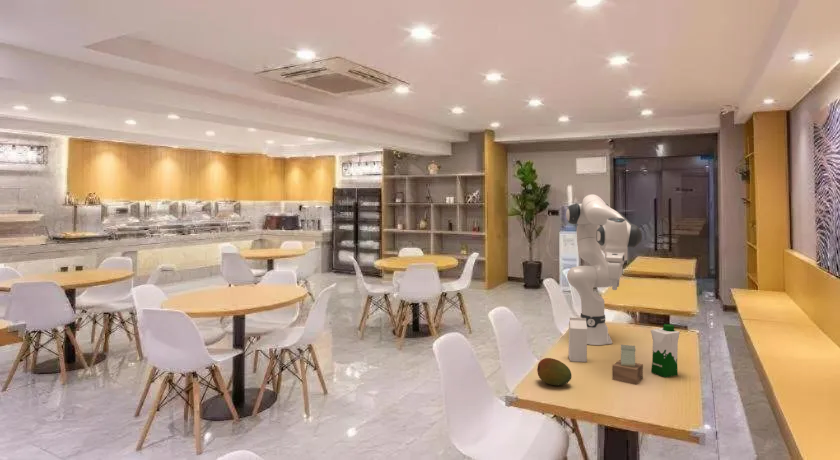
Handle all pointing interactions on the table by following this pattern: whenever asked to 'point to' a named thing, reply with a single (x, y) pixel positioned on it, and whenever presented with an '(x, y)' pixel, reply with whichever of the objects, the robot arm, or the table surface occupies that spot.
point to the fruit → (553, 372)
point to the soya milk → (665, 351)
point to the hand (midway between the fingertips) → (615, 288)
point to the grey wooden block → (628, 355)
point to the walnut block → (627, 373)
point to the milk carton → (578, 339)
